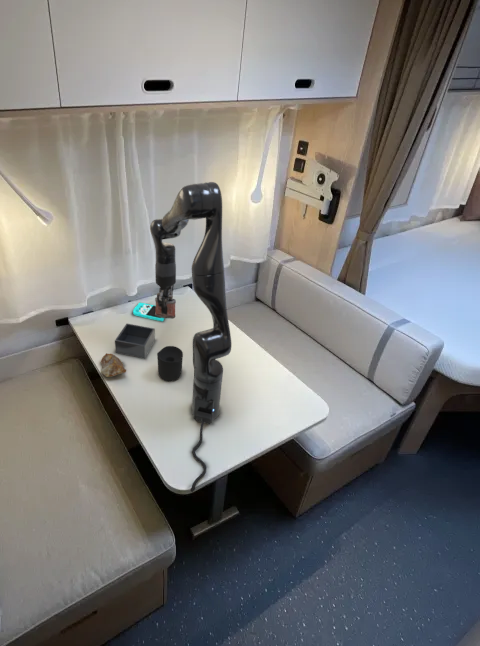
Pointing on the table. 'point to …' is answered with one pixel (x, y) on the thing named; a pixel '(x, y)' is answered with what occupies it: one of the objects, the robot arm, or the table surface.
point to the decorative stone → (111, 365)
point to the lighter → (170, 308)
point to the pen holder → (170, 363)
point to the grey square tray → (135, 340)
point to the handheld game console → (146, 311)
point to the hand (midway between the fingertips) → (165, 310)
